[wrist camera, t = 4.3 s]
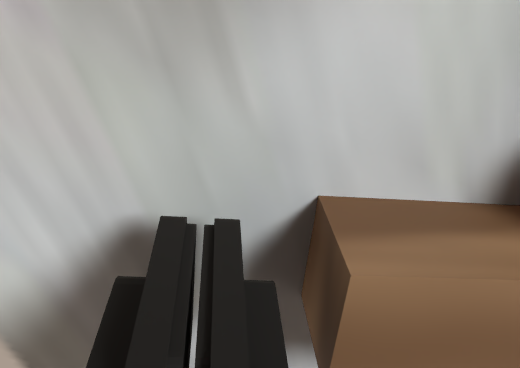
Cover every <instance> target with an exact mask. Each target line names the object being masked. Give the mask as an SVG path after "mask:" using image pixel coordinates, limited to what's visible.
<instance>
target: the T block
mask: <svg viewBox="0 0 520 368" xmlns="http://www.w3.org/2000/svg"><path fill="white" fill-rule="evenodd" d="M301 296H302V301H303V305H304V309H305V313H306V317H307V322H308V326H309V330H310V334H311V338H312V343H313V347H314V351H315V355H316V359H317V364H318V368H520V205H500V204H480V203H459V202H438V201H417V200H397V199H376V198H355V197H334V196H318V201H317V207H316V212H315V218H314V224H313V230H312V236H311V241H310V247H309V253H308V259H307V265H306V270H305V276H304V282H303V288H302V294H301Z"/></svg>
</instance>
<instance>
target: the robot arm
mask: <svg viewBox="0 0 520 368" xmlns="http://www.w3.org/2000/svg"><path fill="white" fill-rule="evenodd" d="M195 248H196V224H187V217H171V216H161V217H160V221H159V225H158V230H157V234H156V238H155V242H154V246H153V251H152V255H151V259H150V263H149V267H148V272H147V276H146V277H125V276H118V277H117V278H116V280H115V282H114V285H113V288H112V291H111V294H110V297H109V300H108V303H107V306H106V309H105V312H104V315H103V318H102V321H101V324H100V327H99V330H98V333H97V336H96V339H95V342H94V345H93V348H92V351H91V354H90V357H89V360H88V363H87V366H86V368H189V361H190V348H191V336H192V320H193V297H194V272H195ZM195 368H288V363H287V356H286V350H285V344H284V338H283V331H282V325H281V319H280V313H279V306H278V300H277V294H276V288H275V283H274V282H273V281H254V280H244V275H243V259H242V244H241V229H240V220H237V219H215V222H214V225H204V239H203V254H202V269H201V283H200V298H199V313H198V328H197V343H196V358H195Z"/></svg>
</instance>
